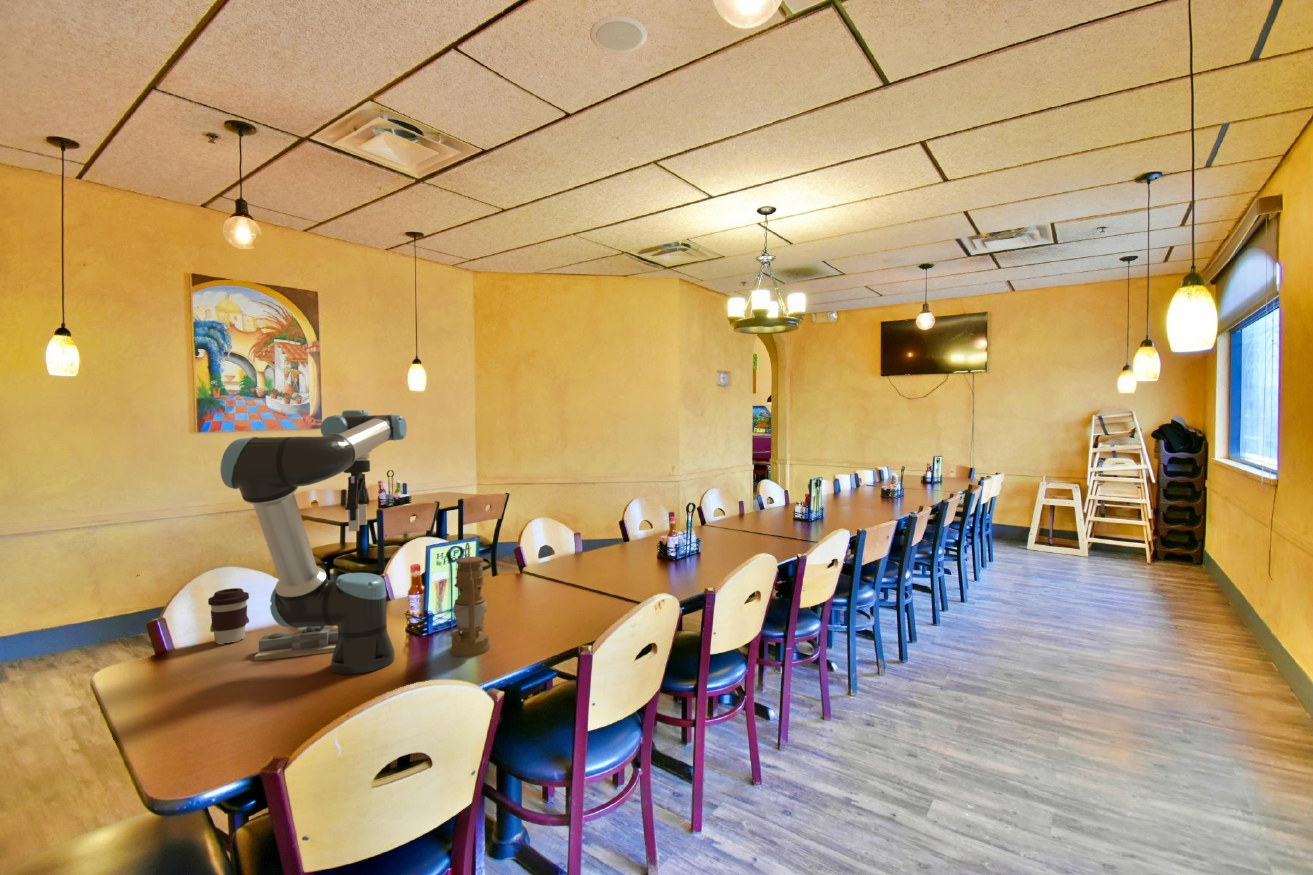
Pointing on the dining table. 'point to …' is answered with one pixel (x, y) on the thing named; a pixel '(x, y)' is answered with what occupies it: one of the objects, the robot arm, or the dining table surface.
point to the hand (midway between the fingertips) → (358, 527)
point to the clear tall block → (313, 629)
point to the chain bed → (297, 643)
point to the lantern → (469, 609)
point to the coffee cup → (229, 614)
